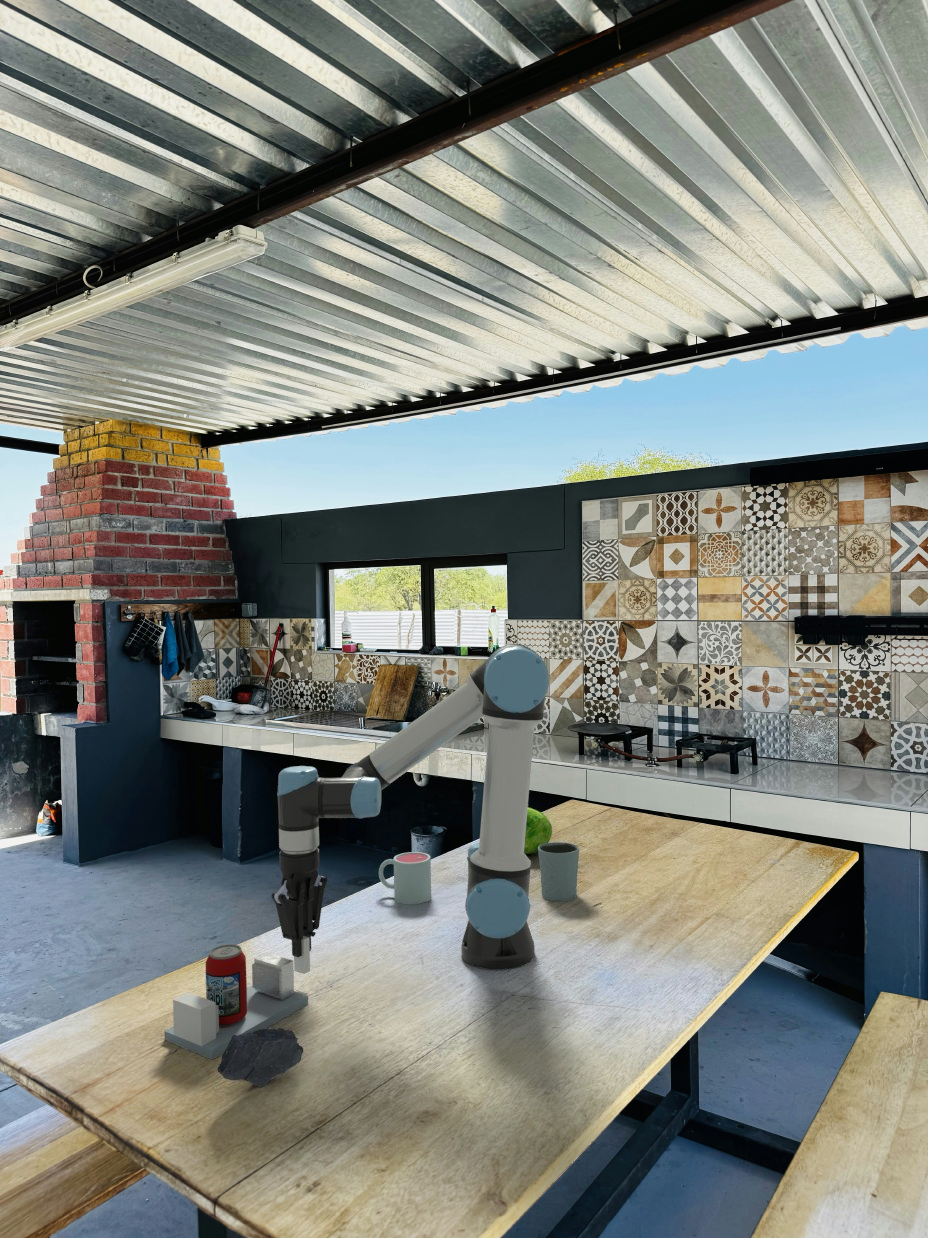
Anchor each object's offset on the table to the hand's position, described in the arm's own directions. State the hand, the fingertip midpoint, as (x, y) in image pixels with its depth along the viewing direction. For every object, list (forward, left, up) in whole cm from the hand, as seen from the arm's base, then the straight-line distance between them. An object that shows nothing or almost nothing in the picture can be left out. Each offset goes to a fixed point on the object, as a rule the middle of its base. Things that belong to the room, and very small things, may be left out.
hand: (302, 971), depth 161 cm
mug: (+13, -49, -3) cm, 51 cm away
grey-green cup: (-20, -69, -3) cm, 72 cm away
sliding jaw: (0, +8, -1) cm, 8 cm away
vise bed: (0, +16, -3) cm, 16 cm away
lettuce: (+6, -96, -3) cm, 96 cm away
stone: (-19, +28, -3) cm, 34 cm away
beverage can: (0, +18, -2) cm, 19 cm away
